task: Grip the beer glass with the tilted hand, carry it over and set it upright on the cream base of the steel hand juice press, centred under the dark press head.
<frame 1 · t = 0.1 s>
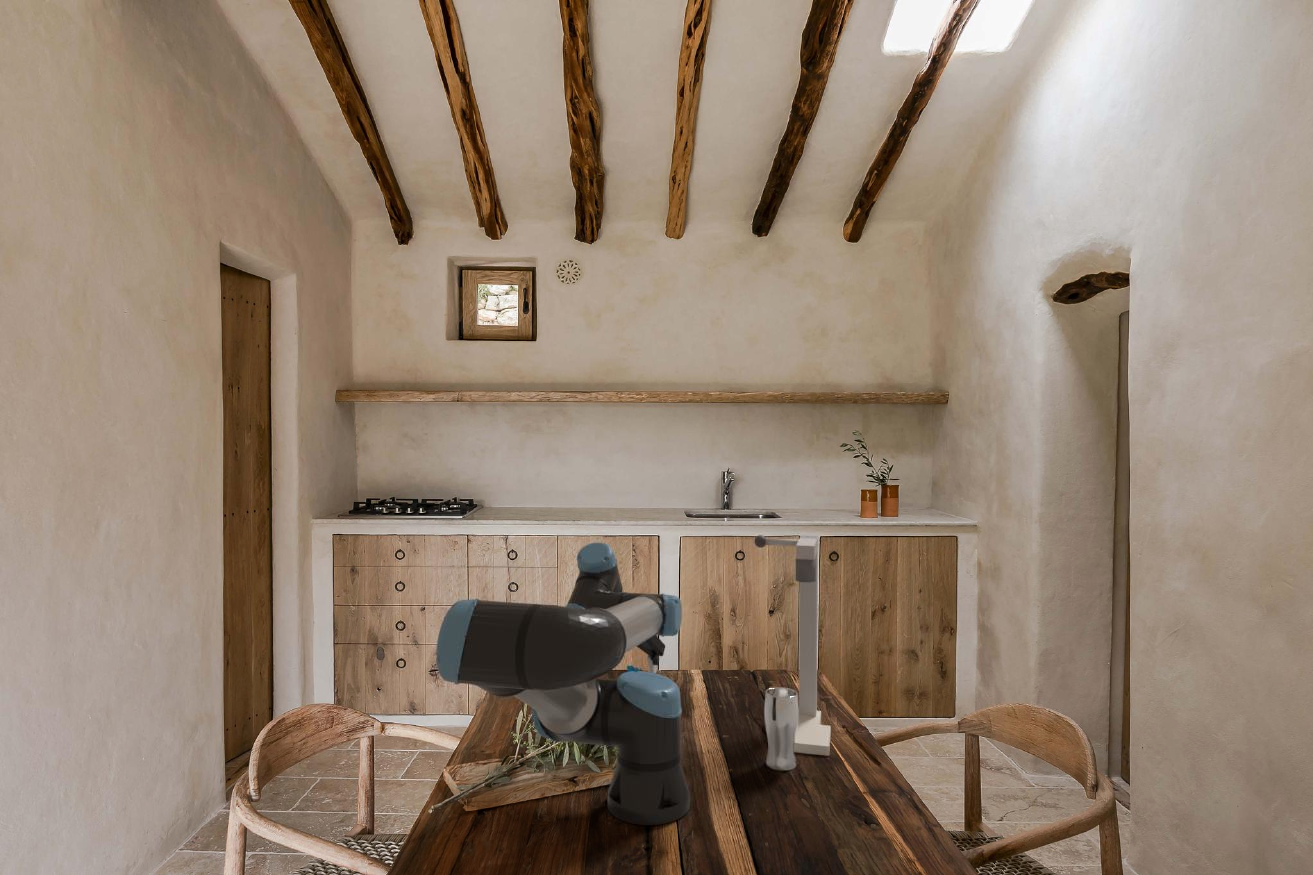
hand: (625, 670, 172), 15 cm above the table, tool tilted 35°, fingers open, 13 cm apart
beer glass: (781, 765, 159), on the table
press: (804, 742, 170), on the table
gear: (641, 692, 203), on the table
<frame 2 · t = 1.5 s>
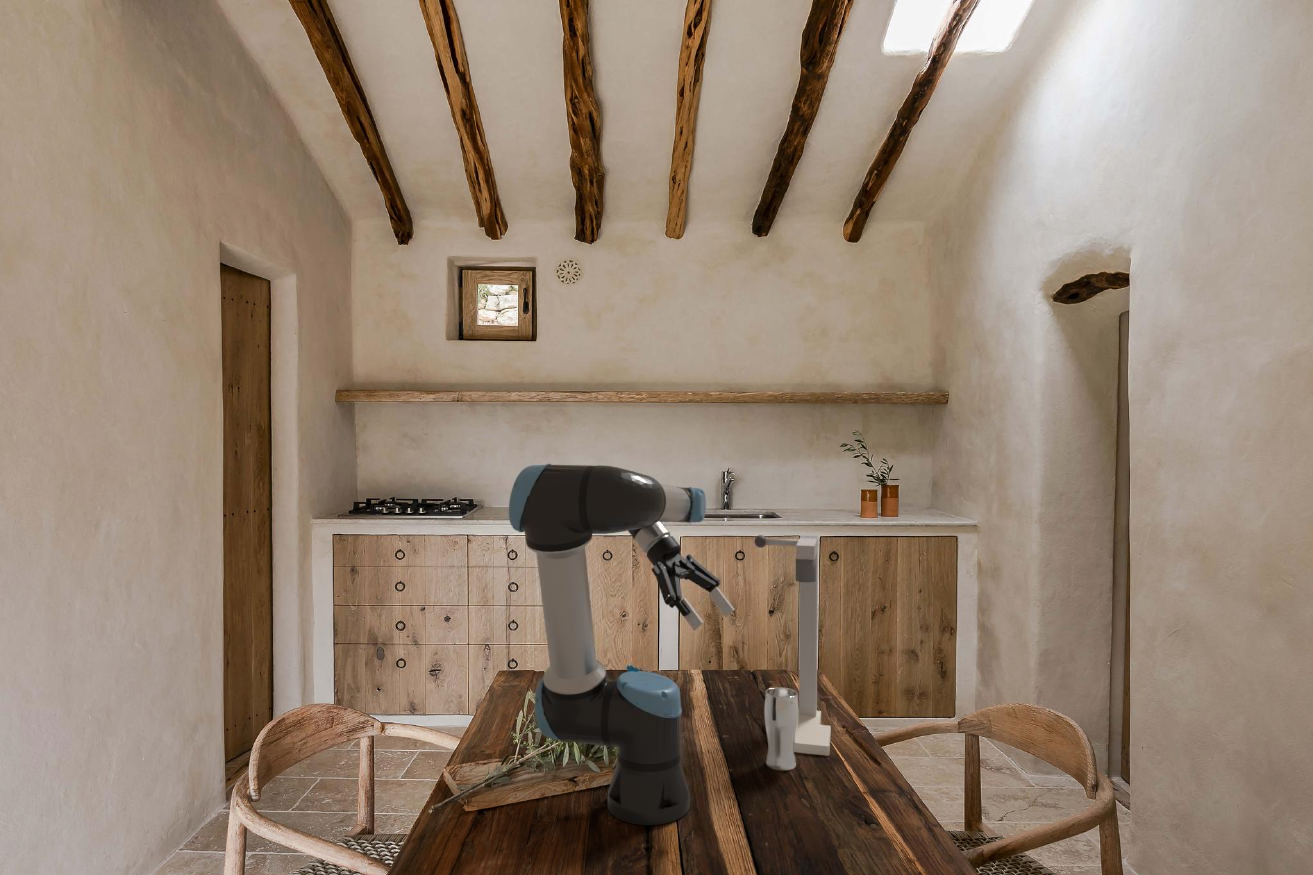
hand: (715, 619, 167), 28 cm above the table, tool tilted 45°, fingers open, 13 cm apart
nothing on the table moved.
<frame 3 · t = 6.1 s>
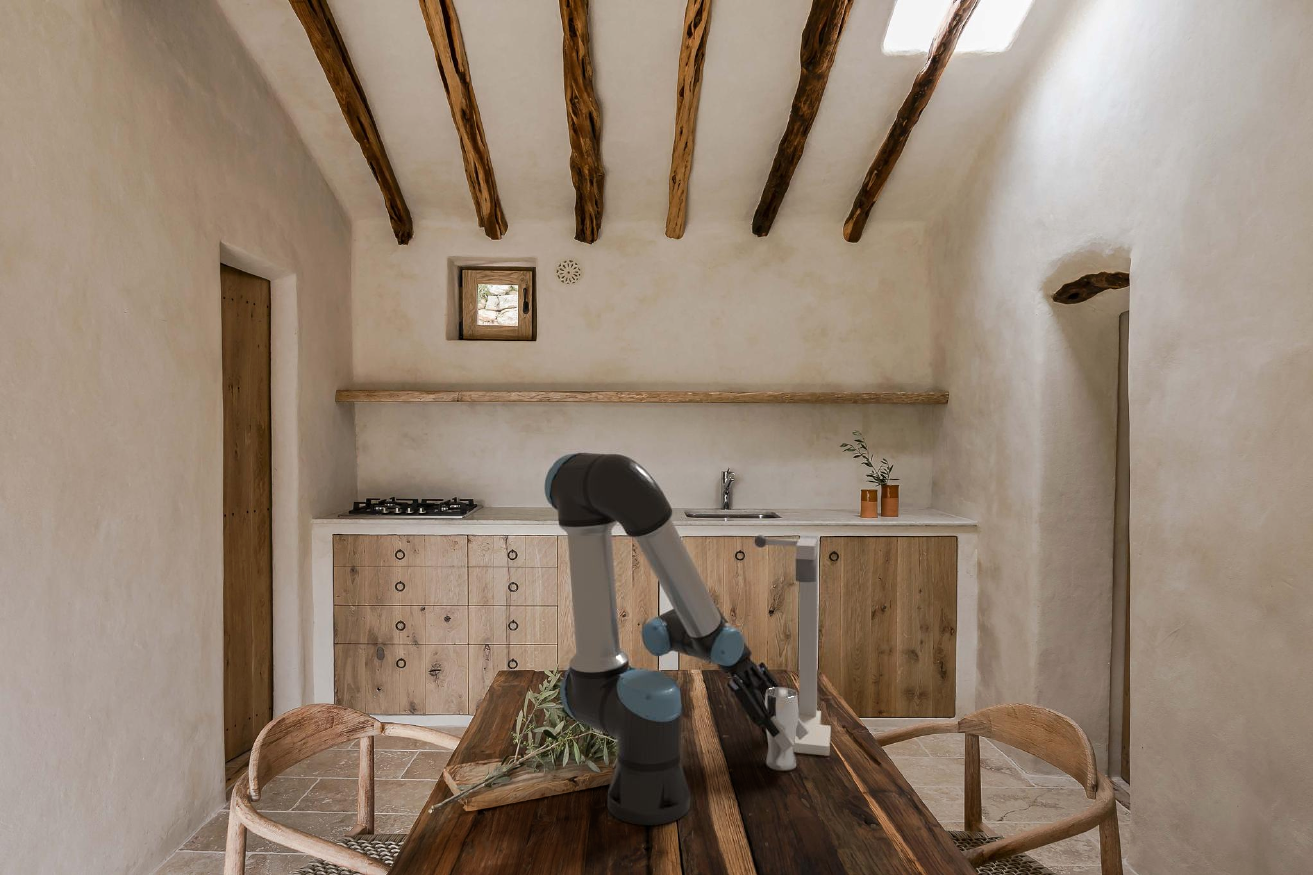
hand: (797, 741, 157), 6 cm above the table, tool tilted 45°, fingers closed on beer glass, 7 cm apart
beer glass: (781, 765, 159), on the table, touching gripper
everything else where it was.
when the fingers open (9 cm above the table, at t = 11.5 s): beer glass drops 1 cm, resting on press.
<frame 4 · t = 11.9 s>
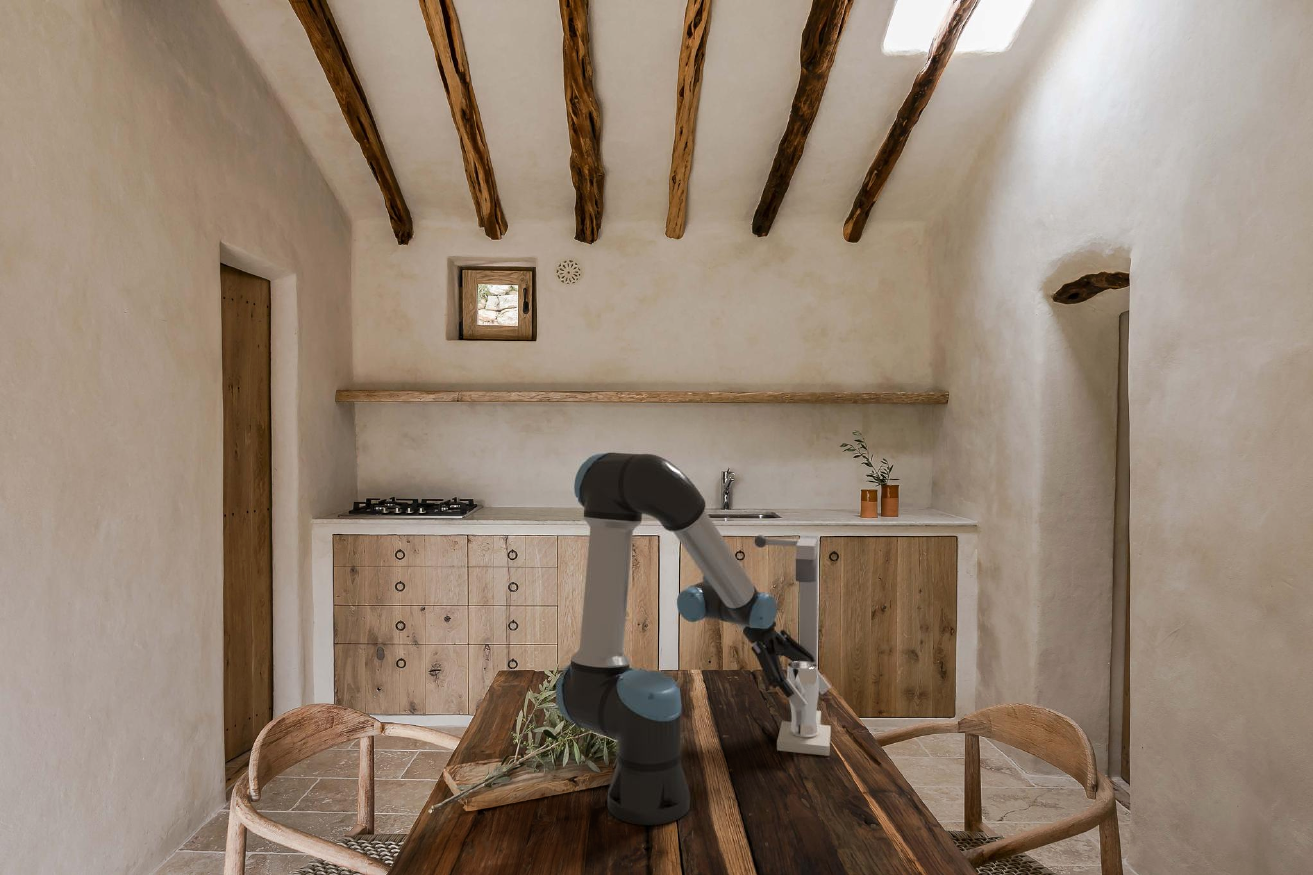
hand: (815, 699, 169), 10 cm above the table, tool tilted 45°, fingers open, 12 cm apart
beer glass: (804, 733, 170), point 2 cm above the table, touching press
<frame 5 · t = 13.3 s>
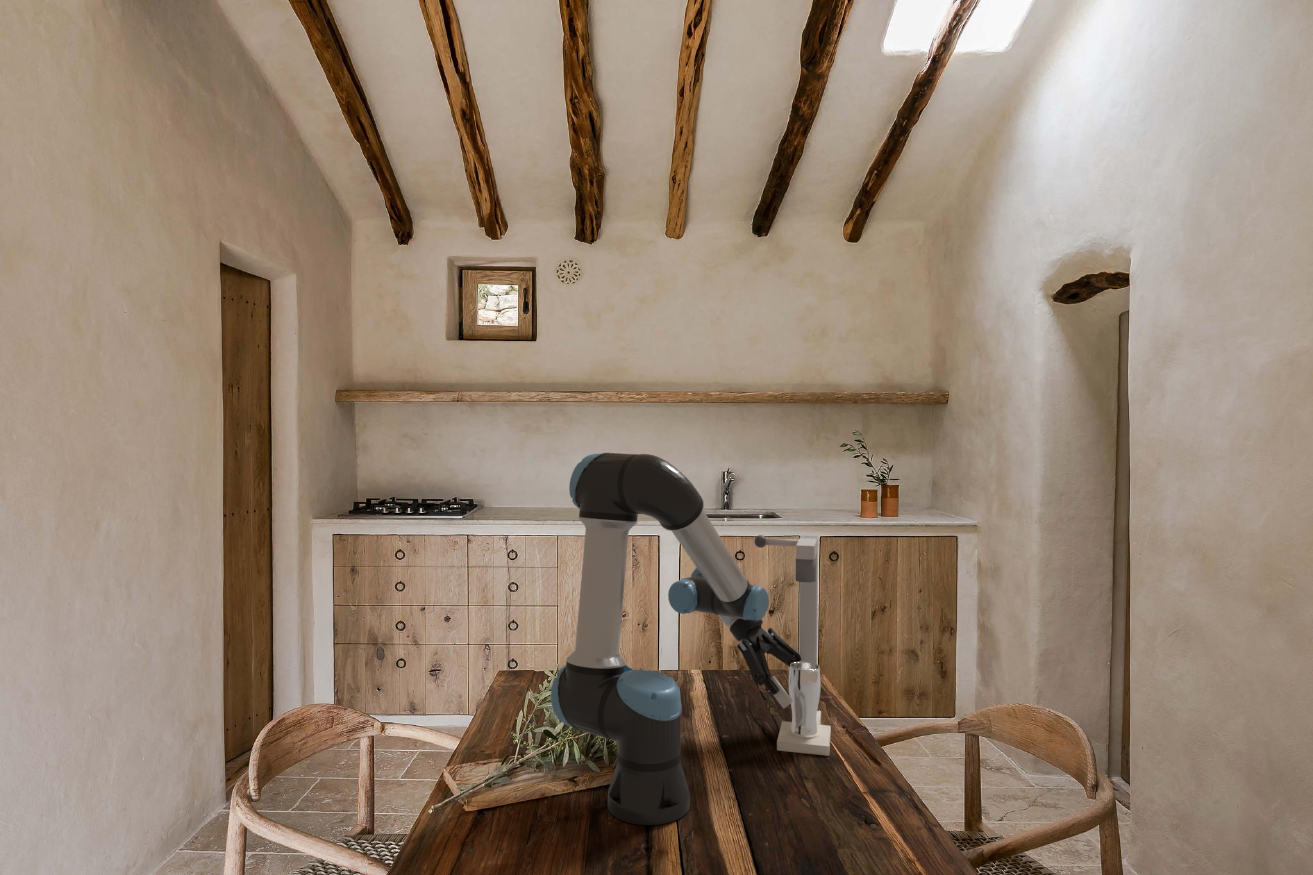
hand: (800, 697, 171), 10 cm above the table, tool tilted 45°, fingers open, 12 cm apart
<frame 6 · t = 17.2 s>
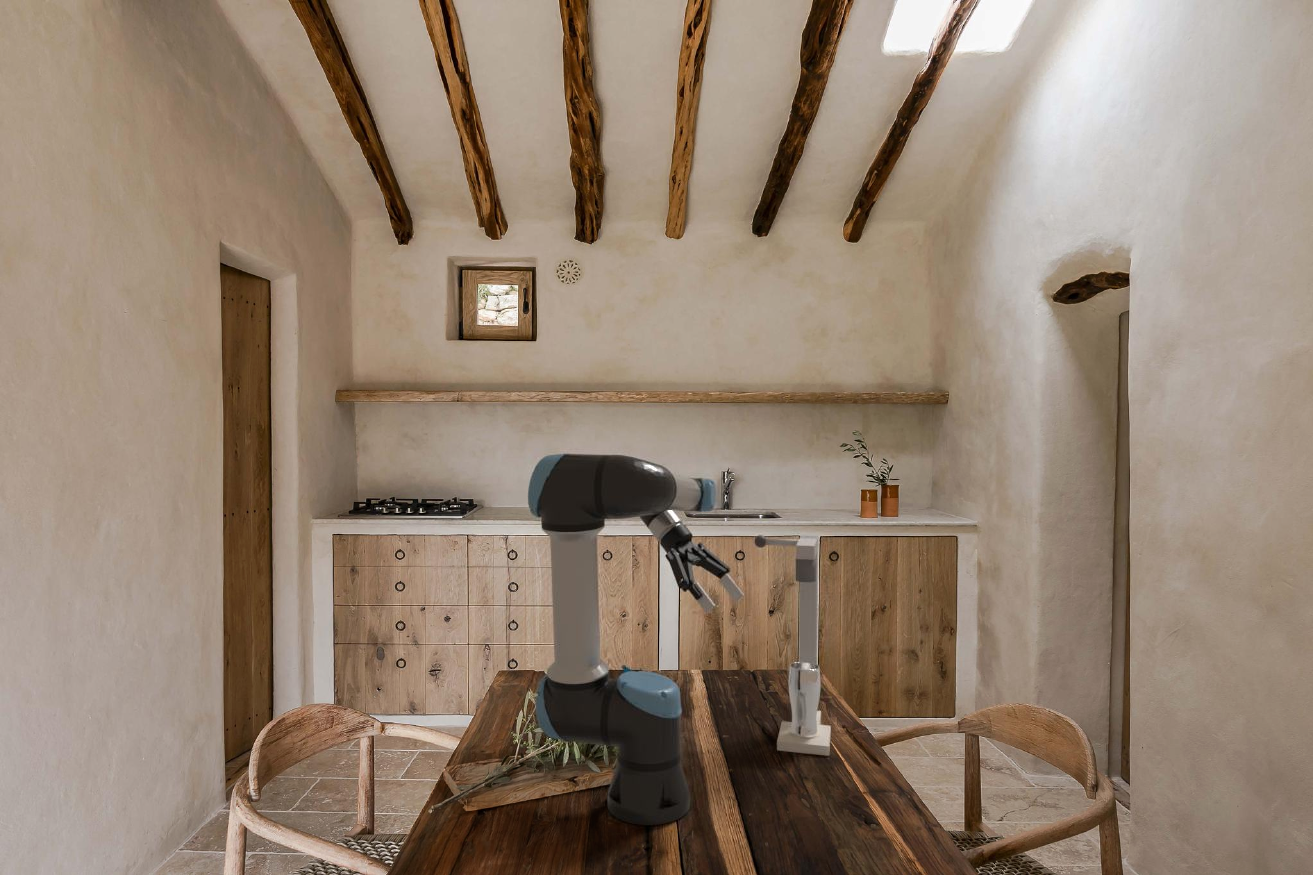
hand: (726, 603, 175), 30 cm above the table, tool tilted 45°, fingers open, 13 cm apart
at the end: beer glass 0.1 cm off-centre on the press, point 1.8 cm above the press's base; beer glass tilted 0°; the gripper is holding nothing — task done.
